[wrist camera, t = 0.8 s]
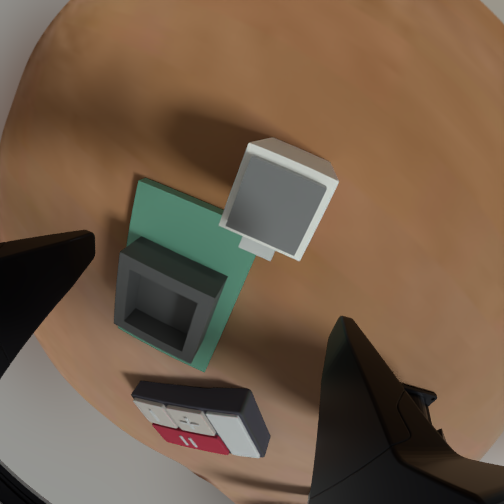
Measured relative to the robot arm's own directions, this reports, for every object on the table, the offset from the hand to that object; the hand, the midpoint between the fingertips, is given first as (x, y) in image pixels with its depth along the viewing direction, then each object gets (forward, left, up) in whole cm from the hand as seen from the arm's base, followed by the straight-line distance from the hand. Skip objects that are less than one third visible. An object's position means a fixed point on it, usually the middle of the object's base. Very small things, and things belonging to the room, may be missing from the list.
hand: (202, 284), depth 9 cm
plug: (-1, -2, -11) cm, 12 cm away
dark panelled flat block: (-3, +28, -12) cm, 30 cm away
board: (+4, +10, -11) cm, 16 cm away
